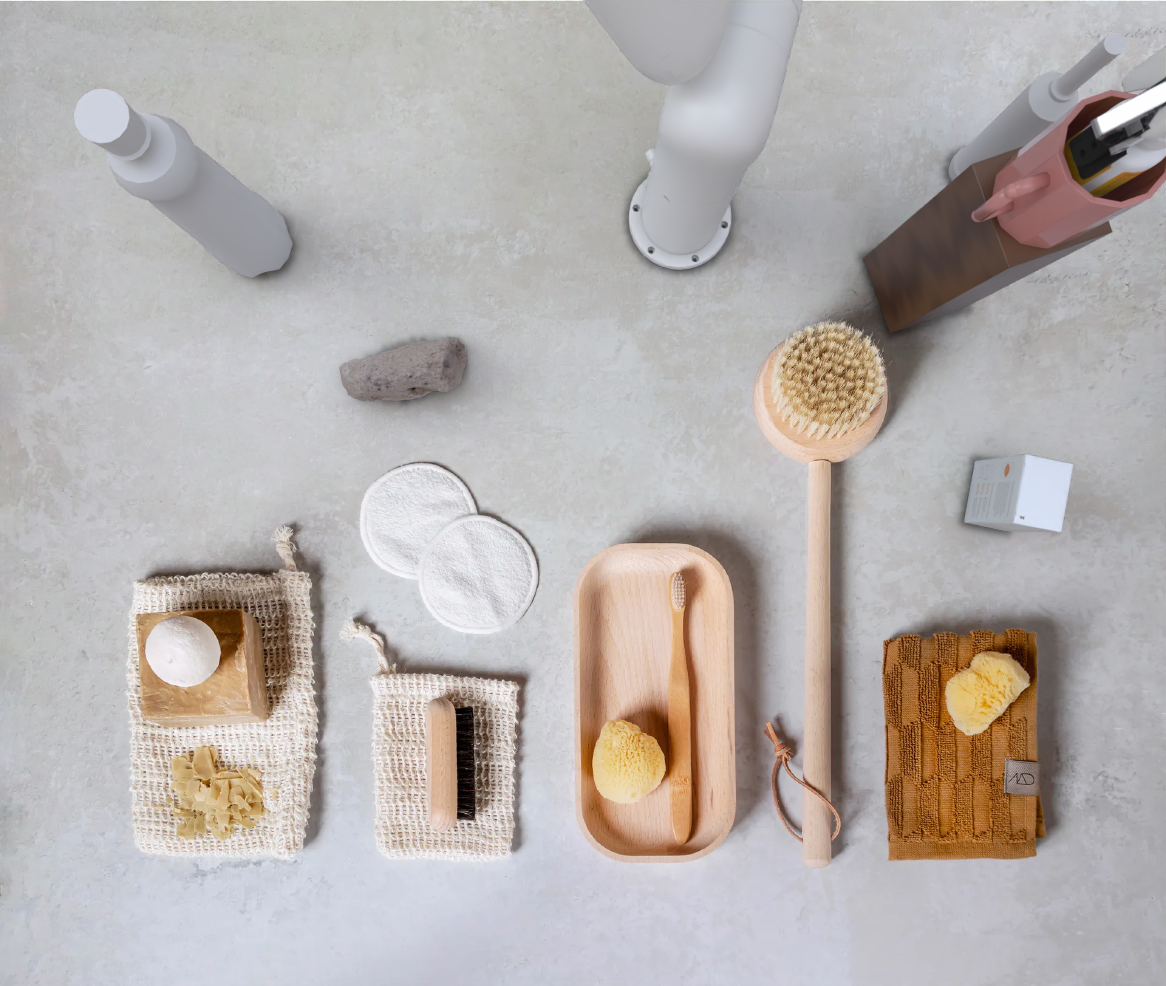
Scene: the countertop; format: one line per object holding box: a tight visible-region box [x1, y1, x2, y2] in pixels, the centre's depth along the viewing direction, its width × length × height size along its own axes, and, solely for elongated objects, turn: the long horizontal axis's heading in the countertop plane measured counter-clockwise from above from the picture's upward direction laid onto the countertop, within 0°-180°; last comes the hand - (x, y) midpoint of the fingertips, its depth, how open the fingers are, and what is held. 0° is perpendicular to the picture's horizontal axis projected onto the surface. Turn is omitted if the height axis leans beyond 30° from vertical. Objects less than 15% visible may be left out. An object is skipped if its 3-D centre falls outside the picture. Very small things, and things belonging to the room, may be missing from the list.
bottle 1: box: [73, 88, 294, 279], centre depth 75 cm, size 9×9×30 cm
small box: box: [963, 453, 1075, 534], centre depth 85 cm, size 8×6×10 cm
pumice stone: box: [339, 336, 468, 402], centre depth 85 cm, size 15×8×10 cm, turn 95°
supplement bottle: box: [1063, 99, 1166, 198], centre depth 56 cm, size 5×5×10 cm
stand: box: [862, 146, 1113, 334], centre depth 78 cm, size 10×10×25 cm
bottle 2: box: [947, 32, 1127, 182], centre depth 78 cm, size 5×5×25 cm
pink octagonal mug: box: [971, 89, 1166, 249], centre depth 61 cm, size 9×12×9 cm
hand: (1117, 146), depth 56 cm, fingers closed on supplement bottle, 5 cm apart
